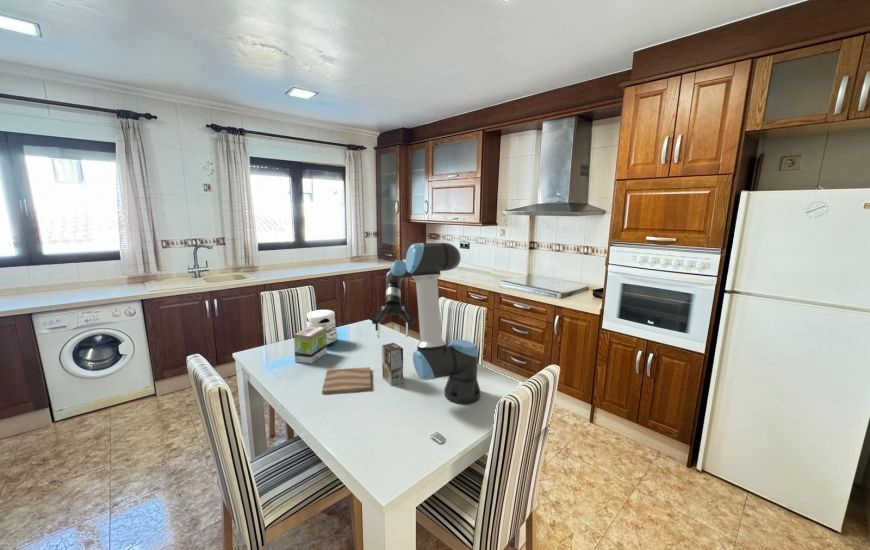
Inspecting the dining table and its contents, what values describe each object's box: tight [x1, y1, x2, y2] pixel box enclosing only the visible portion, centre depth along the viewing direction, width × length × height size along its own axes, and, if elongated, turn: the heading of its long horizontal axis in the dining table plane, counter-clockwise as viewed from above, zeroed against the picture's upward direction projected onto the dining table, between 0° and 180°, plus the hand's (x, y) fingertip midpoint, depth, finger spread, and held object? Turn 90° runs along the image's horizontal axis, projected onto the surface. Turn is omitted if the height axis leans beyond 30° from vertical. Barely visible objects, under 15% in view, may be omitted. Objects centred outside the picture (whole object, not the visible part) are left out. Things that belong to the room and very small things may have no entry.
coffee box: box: [381, 342, 404, 386], centre depth 160 cm, size 9×6×16 cm
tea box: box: [293, 326, 328, 364], centre depth 183 cm, size 15×10×15 cm, turn 168°
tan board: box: [321, 366, 372, 395], centre depth 159 cm, size 20×20×2 cm
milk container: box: [306, 309, 338, 347], centre depth 203 cm, size 17×17×18 cm
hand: (392, 336), depth 169 cm, fingers open, 13 cm apart
